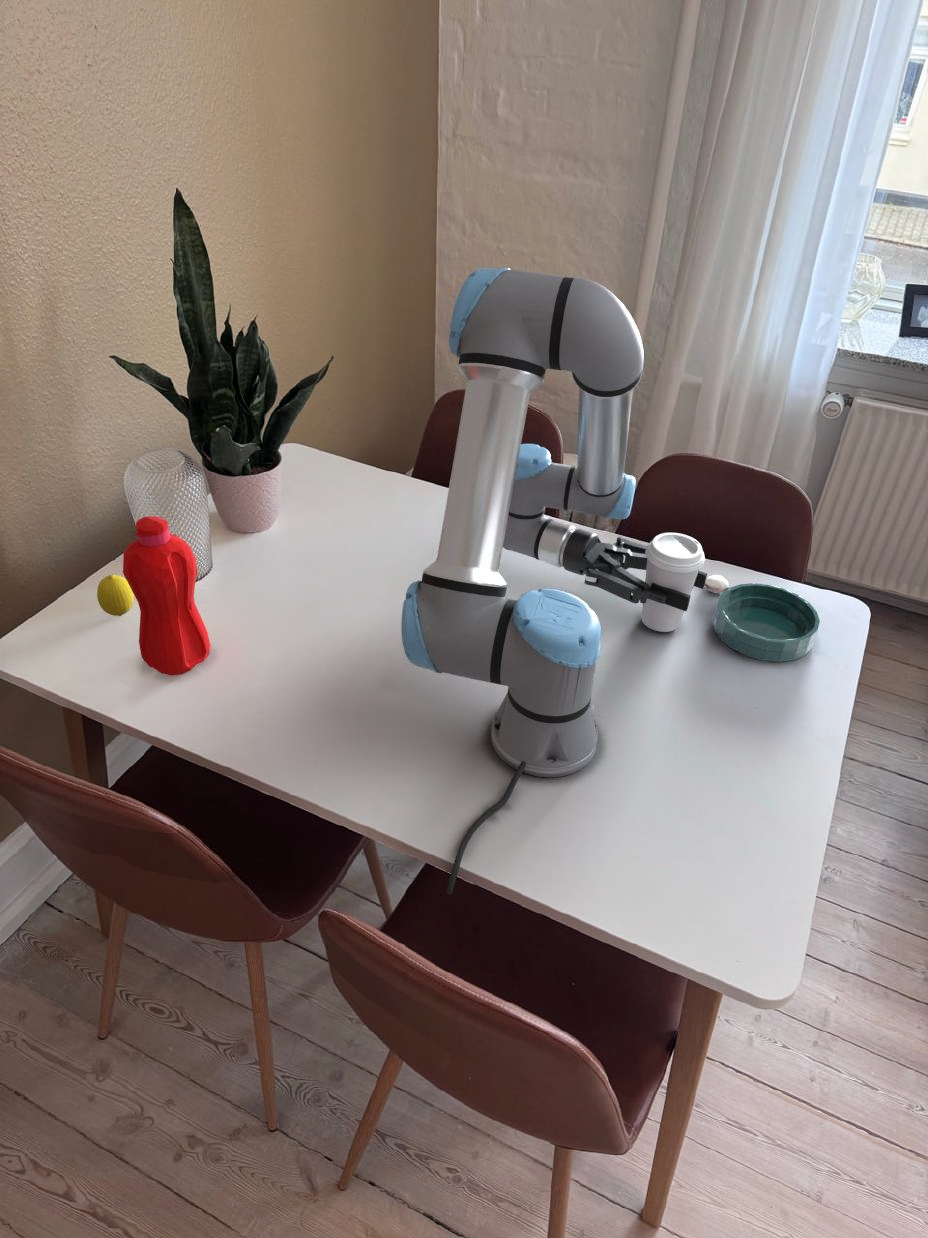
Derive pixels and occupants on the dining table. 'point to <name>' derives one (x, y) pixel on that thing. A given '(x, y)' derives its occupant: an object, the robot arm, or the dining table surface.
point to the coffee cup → (670, 576)
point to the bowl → (766, 622)
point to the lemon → (115, 595)
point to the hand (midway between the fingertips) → (696, 592)
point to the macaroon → (716, 584)
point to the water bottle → (165, 598)
